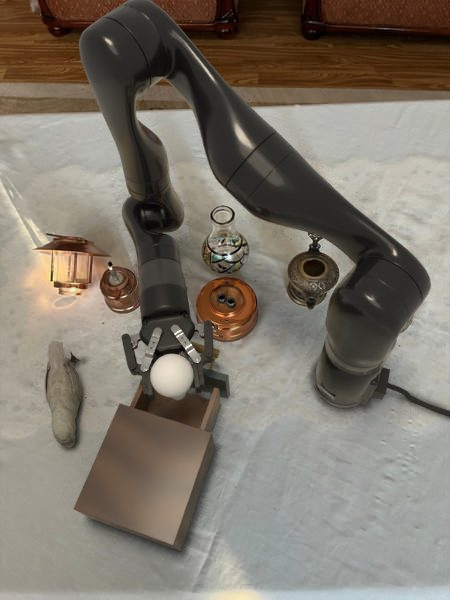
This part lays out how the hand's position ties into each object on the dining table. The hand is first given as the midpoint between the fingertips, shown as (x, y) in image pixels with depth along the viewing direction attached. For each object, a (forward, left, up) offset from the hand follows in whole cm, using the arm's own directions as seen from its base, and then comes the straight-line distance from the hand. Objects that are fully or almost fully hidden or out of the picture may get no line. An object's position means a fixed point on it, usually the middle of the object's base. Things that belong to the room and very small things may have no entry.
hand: (175, 394), depth 74 cm
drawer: (+1, -2, -13) cm, 13 cm away
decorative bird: (+20, +3, -14) cm, 24 cm away
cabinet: (+1, +10, -14) cm, 17 cm away
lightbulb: (+1, -2, -7) cm, 7 cm away
